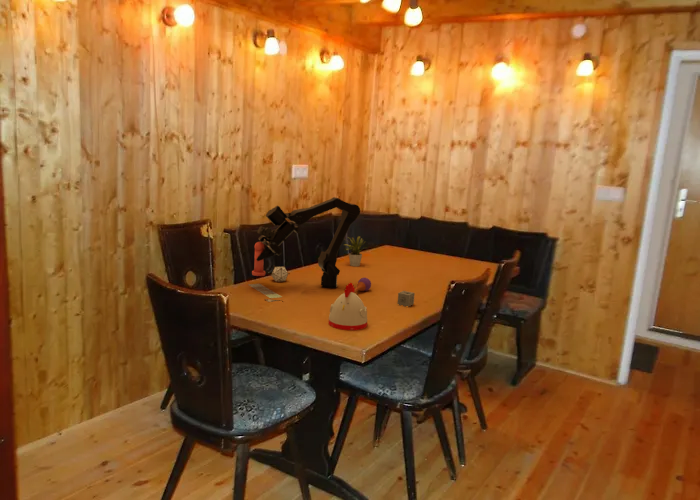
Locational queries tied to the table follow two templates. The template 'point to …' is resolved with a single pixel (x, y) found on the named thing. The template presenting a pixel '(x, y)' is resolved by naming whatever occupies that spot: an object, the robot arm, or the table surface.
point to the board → (266, 292)
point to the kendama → (363, 285)
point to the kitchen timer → (348, 311)
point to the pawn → (258, 264)
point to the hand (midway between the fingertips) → (255, 259)
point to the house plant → (355, 252)
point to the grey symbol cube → (406, 298)
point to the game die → (279, 274)
